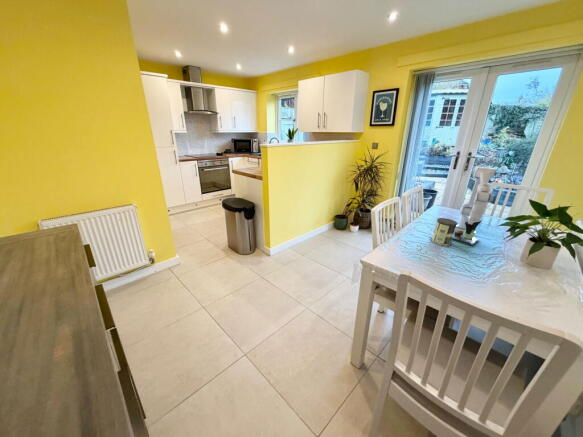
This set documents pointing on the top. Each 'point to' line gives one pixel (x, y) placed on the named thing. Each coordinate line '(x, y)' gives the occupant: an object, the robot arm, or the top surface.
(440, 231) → the coffee can
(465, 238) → the scale pan
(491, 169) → the robot arm
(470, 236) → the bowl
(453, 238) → the scale
